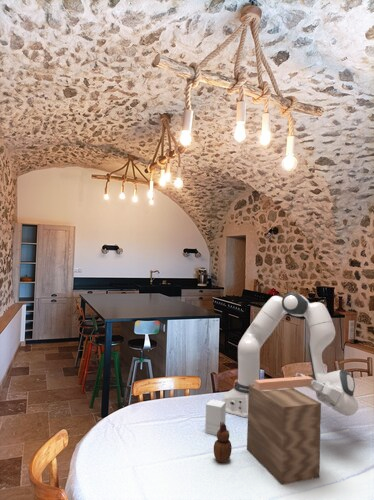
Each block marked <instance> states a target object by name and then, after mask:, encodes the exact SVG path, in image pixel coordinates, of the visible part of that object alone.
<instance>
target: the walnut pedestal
mask: <svg viewBox="0 0 374 500" xmlns="http://www.w3.org/2000/svg"><path fill="white" fill-rule="evenodd" d="M321 414H322V402H321V401H320V402H319V400H318V401H317V400H316V399H315V398H313V397H310V396H309V395H307V394H305V393H303V392H302V391H299V390H297V389H295V388H284V389H273V390H261V391H259V390H257V389H256V388H254V384H252V385H249V396H248V417H247V430H246V431H247V433H246V450H247V452H249V454H250V455H251V456H252V457H253V458H254V459H256V461H257V462H258V463H259V464H261V465H262V466H263V468H265V470H267V472H268V473H269V474H270V475H271V476H272V477H273V478H274V479H275V480H276V481H277V482H278V483H279V484H280V485H286V484H291V483H296V482H297V481H298V482H302V481H307V479H308V480H311V479H312V478H313V479H316V478H320V474H321V473H320V470H321V469H320V467H321V465H320V464H321V461H320V460H321V425H322V424H321V422H322V421H321V420H322V416H321Z"/></svg>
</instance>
